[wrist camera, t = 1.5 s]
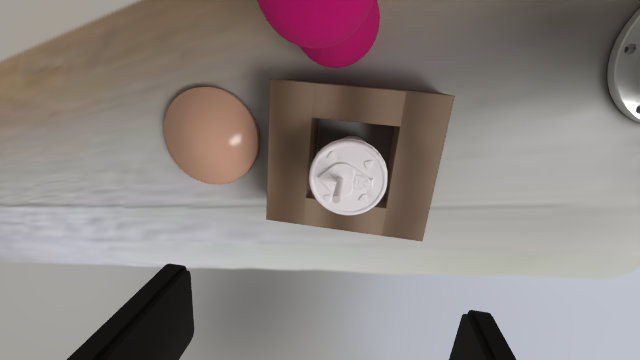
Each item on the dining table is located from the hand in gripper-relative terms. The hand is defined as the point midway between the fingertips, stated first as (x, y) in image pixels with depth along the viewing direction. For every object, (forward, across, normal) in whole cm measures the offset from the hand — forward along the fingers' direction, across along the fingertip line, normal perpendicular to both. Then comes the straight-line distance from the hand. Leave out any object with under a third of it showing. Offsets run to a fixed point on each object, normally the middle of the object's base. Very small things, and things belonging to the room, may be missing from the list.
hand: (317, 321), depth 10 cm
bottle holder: (+25, 0, 0) cm, 25 cm away
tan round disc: (+25, +16, 0) cm, 29 cm away
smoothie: (+25, 0, 0) cm, 25 cm away
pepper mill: (+25, +2, -12) cm, 28 cm away
